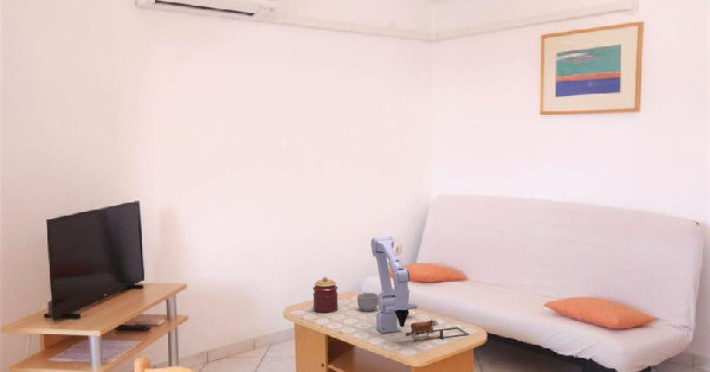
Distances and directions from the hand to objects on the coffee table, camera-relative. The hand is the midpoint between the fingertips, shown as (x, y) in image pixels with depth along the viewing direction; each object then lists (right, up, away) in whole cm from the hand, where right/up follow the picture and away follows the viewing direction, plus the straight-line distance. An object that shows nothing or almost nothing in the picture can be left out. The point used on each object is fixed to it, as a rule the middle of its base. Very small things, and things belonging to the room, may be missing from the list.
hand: (401, 326), depth 276 cm
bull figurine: (+10, -6, +4) cm, 13 cm away
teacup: (-14, -2, +49) cm, 52 cm away
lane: (+23, -5, +8) cm, 25 cm away
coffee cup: (+2, -3, +35) cm, 35 cm away
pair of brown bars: (+10, -6, +4) cm, 12 cm away
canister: (-37, -3, +49) cm, 61 cm away
